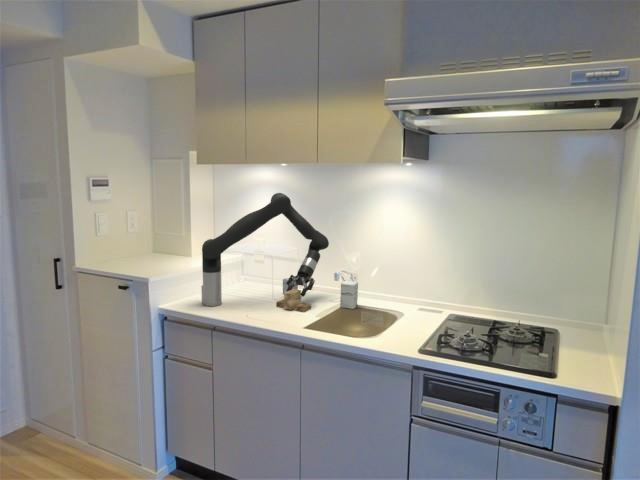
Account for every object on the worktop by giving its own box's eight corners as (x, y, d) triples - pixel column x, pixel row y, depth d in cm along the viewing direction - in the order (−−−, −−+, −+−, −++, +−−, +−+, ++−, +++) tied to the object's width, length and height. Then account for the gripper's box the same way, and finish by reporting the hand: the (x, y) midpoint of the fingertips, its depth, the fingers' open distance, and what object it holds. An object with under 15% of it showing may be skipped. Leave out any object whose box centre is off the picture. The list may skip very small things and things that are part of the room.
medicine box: (298, 295, 258) (298, 279, 257) (292, 296, 255) (292, 281, 253) (288, 292, 263) (288, 277, 262) (282, 294, 260) (282, 278, 258)
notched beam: (276, 306, 236) (276, 301, 235) (283, 303, 241) (283, 299, 240) (304, 312, 227) (304, 307, 226) (310, 309, 232) (310, 304, 231)
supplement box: (339, 307, 235) (340, 283, 234) (344, 303, 242) (344, 280, 240) (353, 309, 233) (354, 284, 231) (357, 305, 240) (358, 281, 238)
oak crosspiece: (284, 308, 230) (284, 292, 229) (294, 304, 238) (294, 289, 237) (290, 309, 228) (290, 294, 227) (300, 305, 236) (300, 290, 235)
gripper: (293, 262, 243) (280, 288, 235) (316, 265, 235) (303, 292, 227) (298, 270, 248) (286, 296, 240) (321, 274, 241) (309, 300, 233)
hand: (294, 294), depth 234 cm, fingers open, 8 cm apart
